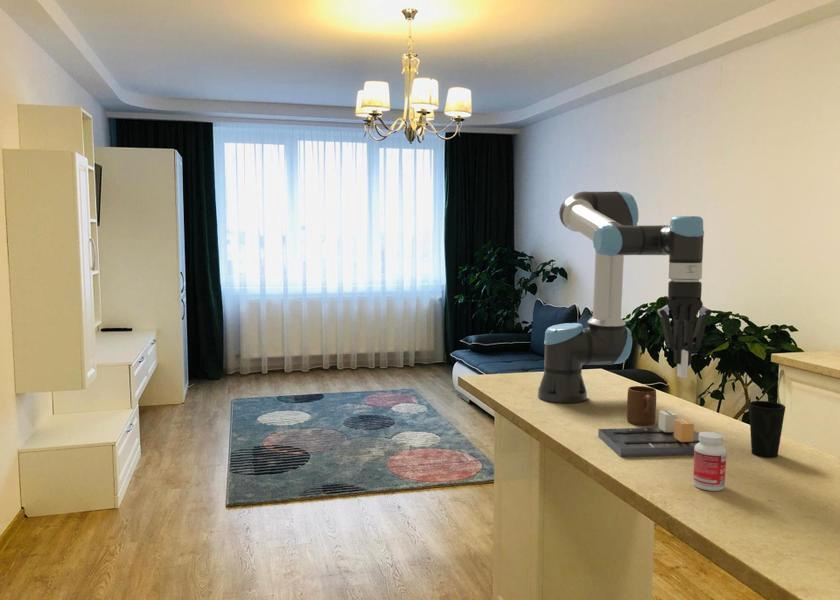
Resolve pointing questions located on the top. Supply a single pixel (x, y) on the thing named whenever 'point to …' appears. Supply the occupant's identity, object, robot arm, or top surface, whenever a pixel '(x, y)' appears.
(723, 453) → the pill bottle
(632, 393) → the mug
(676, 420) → the fader
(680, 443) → the console
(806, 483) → the top surface
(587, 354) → the robot arm
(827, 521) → the top surface
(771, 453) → the cup
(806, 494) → the top surface
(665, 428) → the fader
